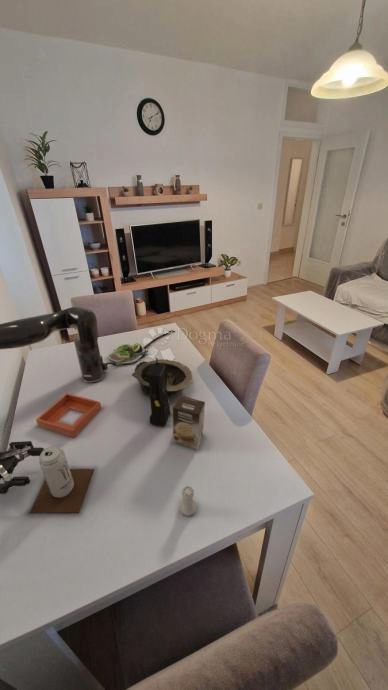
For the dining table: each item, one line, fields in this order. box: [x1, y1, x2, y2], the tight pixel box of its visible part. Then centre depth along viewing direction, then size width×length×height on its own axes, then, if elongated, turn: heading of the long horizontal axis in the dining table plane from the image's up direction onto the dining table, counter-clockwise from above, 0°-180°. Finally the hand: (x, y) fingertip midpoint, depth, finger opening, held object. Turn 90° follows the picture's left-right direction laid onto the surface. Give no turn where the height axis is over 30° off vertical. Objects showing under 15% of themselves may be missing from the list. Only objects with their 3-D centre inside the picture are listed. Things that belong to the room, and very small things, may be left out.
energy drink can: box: [38, 445, 74, 498], centre depth 75 cm, size 6×6×15 cm
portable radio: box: [146, 357, 171, 427], centre depth 96 cm, size 8×6×25 cm
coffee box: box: [172, 394, 206, 451], centre depth 91 cm, size 9×6×16 cm
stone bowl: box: [131, 358, 194, 399], centre depth 118 cm, size 25×25×9 cm
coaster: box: [28, 468, 95, 514], centre depth 78 cm, size 13×13×1 cm
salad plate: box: [107, 342, 149, 366], centre depth 139 cm, size 19×18×5 cm
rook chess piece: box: [179, 485, 197, 517], centre depth 73 cm, size 4×4×8 cm
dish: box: [35, 392, 102, 439], centre depth 102 cm, size 16×16×3 cm
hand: (37, 465), depth 73 cm, fingers open, 8 cm apart
